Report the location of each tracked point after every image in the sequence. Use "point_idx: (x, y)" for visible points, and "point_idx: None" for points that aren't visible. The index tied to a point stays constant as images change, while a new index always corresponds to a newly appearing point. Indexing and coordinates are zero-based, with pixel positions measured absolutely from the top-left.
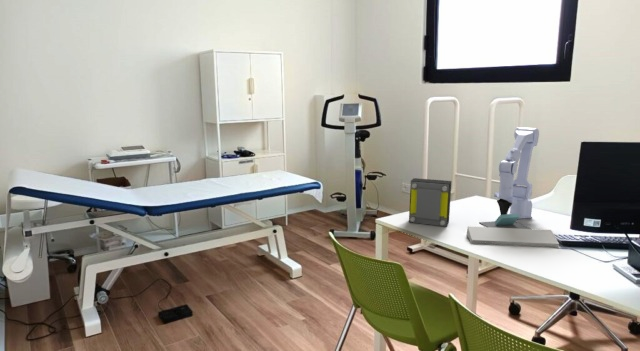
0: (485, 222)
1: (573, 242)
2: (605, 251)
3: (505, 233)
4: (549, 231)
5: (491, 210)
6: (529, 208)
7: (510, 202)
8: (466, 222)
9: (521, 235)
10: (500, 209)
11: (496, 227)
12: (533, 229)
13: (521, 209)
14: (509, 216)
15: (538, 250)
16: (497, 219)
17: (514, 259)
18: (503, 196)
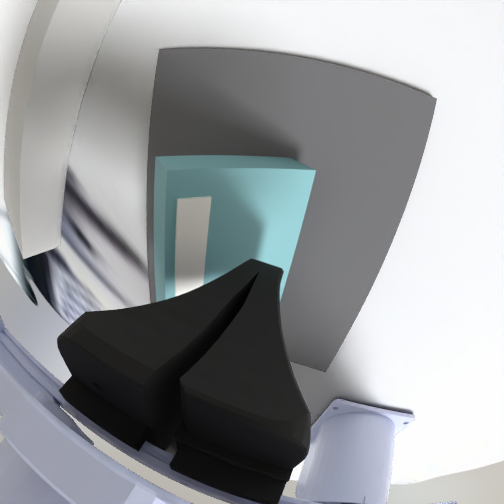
0: (408, 148)
1: (44, 277)
2: (15, 273)
3: (36, 28)
4: (19, 242)
5: (493, 408)
6: (303, 473)
7: (27, 354)
8: (487, 31)
9: (16, 100)
10: (258, 301)
11: (239, 113)
12: (19, 195)
13: (316, 458)
14: (158, 258)
15: (5, 107)
16: (253, 164)
17: (5, 3)
18: (3, 444)
